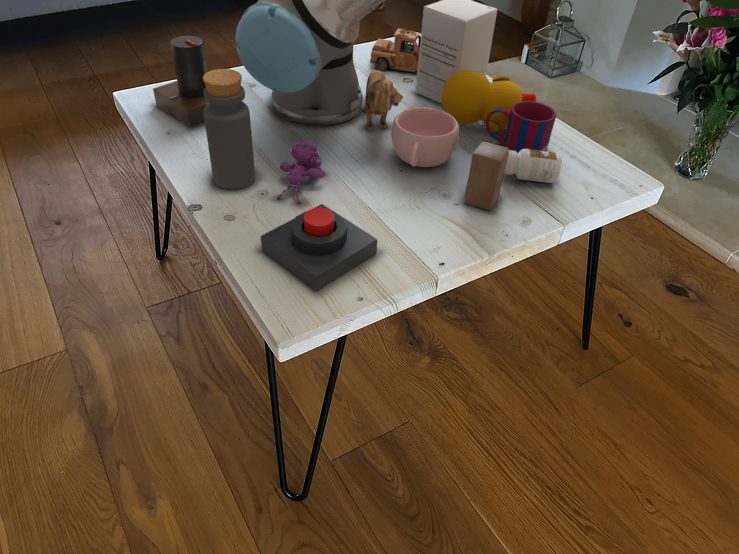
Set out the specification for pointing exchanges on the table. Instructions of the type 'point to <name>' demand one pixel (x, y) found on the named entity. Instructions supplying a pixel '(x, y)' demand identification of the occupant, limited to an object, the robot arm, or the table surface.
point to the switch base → (319, 249)
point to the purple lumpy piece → (302, 165)
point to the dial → (189, 65)
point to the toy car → (397, 52)
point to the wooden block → (486, 175)
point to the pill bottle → (534, 165)
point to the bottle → (228, 130)
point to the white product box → (453, 43)
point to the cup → (526, 126)
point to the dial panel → (180, 104)
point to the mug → (424, 136)
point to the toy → (480, 98)
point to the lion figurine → (379, 98)
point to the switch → (319, 222)
